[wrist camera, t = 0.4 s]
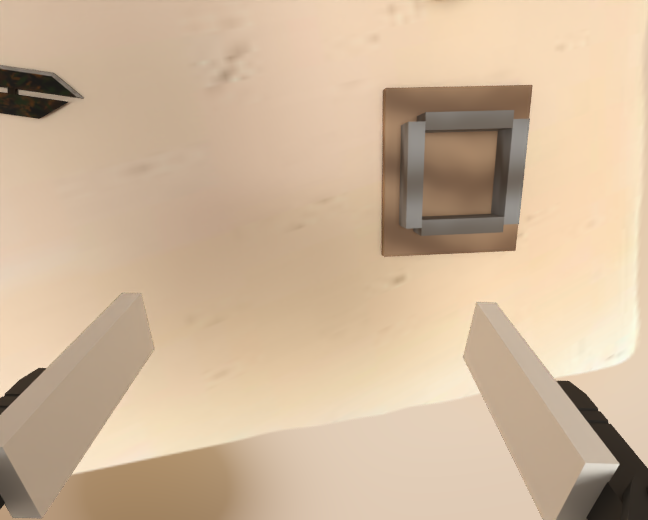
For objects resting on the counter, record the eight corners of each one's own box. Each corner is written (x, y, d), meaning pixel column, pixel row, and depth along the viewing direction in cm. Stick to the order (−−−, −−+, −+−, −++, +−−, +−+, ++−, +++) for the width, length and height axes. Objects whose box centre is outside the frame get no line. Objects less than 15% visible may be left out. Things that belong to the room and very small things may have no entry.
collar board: (383, 90, 34) (392, 81, 31) (526, 87, 35) (550, 78, 31) (381, 254, 38) (389, 262, 35) (510, 248, 39) (530, 256, 35)
